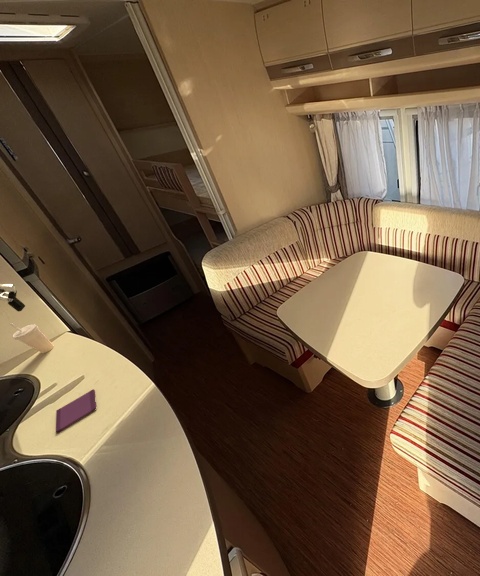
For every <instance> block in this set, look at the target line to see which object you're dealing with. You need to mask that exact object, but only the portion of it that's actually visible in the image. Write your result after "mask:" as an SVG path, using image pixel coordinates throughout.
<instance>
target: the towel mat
mask: <svg viewBox="0 0 480 576" xmlns="http://www.w3.org/2000/svg"><path fill="white" fill-rule="evenodd" d="M95 397H96V390H95V389H94V388H92V389H91V390H89V391H88V392H86V393H84V394H82V395H81V396H79V397H78V398H75V399H74V400H72V401H70V402H69V403H67V404H65V405H63V406H61V407H60V408H58V409H57V410H55V411H56V412H55V433H56V434H59V433H60V432H63V431H64V430H66V429H67V428H69V427H71V426H72V425H74V424H75V423H77V422H78V421H80V420H81V418H82V419H84V418H85V417H87V416H88V415H90V414H92V413H93V412H95V411H96V410H95V409H96V407H97V401H96V402H95ZM94 410H95V411H94ZM92 411H93V412H92ZM91 412H92V413H91ZM89 413H90V414H89ZM86 415H87V416H86ZM84 416H85V417H84Z"/></svg>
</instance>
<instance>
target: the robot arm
mask: <svg viewBox="0 0 480 576" xmlns="http://www.w3.org/2000/svg"><path fill="white" fill-rule="evenodd" d="M17 293H18V292H17V289H16V286H15V284H12V283H0V301H4V302H7V305H9V306H10V307H11V308H13V309H14V310H15V311H16V312H22V311H23V310H24V309H25V307H26V304H24V302H22V301H21V300H20V299H18V298H17V296H18V295H17Z"/></svg>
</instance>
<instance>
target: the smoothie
mask: <svg viewBox="0 0 480 576" xmlns="http://www.w3.org/2000/svg"><path fill="white" fill-rule="evenodd" d="M9 325H11V326H12V327H13V328H15V329H16V331H15V332H14V333H13V334H12V338H13V339H14V340H15V341H16V340H18V341H20V342H21V343H23V344H25V345H27V346H29V347H30V348H32V349H34V350H36V351H38V352H39V353H41V354H45V353H49V352H50V351H51V350H52V349H54V348H55V345H54V343H52V342H51V340H49V338H48V337H47V336H46V335H45V334H44V333H43V332H42V331H41V330H40V328H39V326H38V325H37V324H35V323H31V324H27V325H25V326H23V327H21V328H20V327H18V326H17V325H16V324H14V323H13V322H9Z"/></svg>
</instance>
